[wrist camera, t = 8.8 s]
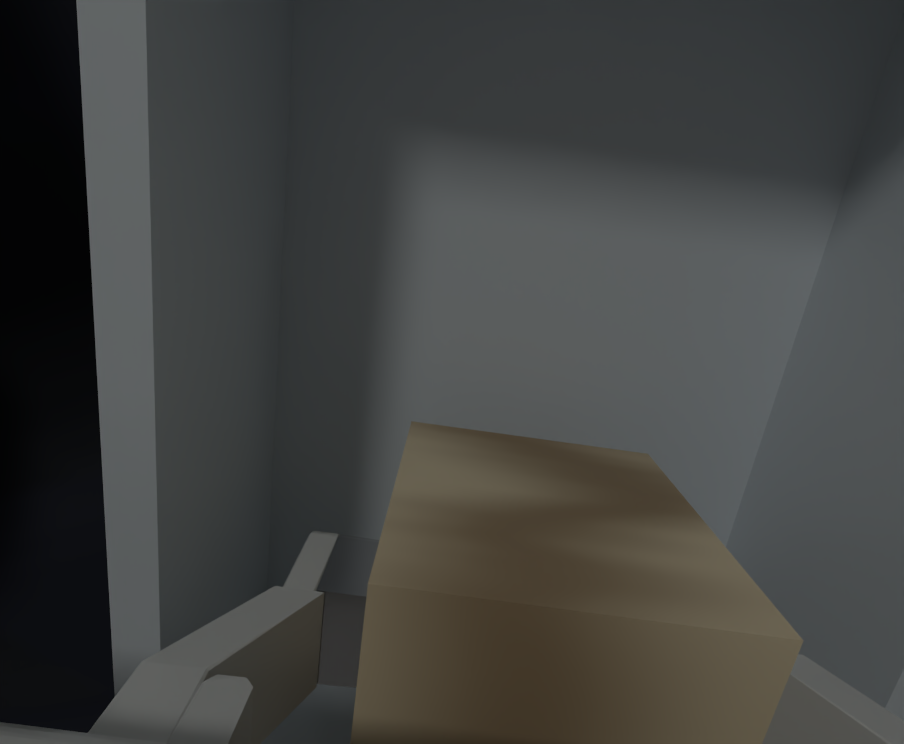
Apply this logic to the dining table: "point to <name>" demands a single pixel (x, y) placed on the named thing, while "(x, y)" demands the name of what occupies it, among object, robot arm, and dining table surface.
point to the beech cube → (558, 605)
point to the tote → (497, 283)
